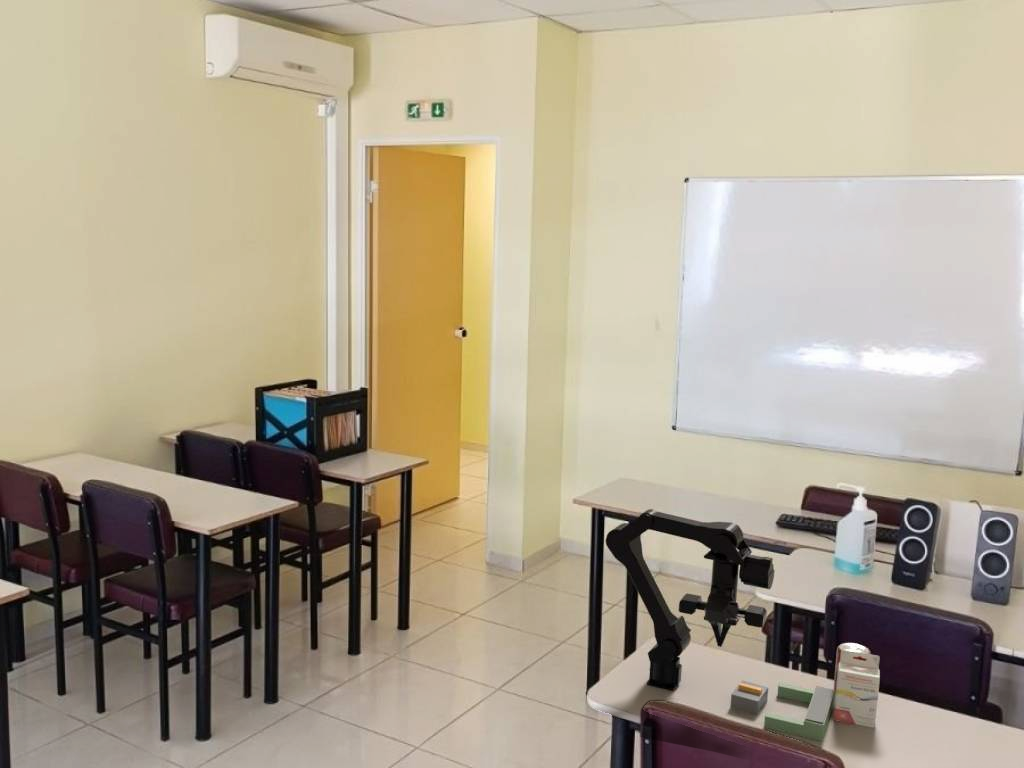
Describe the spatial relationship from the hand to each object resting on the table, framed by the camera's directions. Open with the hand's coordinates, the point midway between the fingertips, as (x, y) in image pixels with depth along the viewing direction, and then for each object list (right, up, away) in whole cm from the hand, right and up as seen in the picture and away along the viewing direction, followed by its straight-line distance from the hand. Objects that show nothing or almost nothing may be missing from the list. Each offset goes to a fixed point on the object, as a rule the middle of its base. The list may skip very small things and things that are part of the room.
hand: (719, 646), depth 218 cm
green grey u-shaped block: (+17, -14, -7) cm, 23 cm away
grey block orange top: (+6, -13, -2) cm, 14 cm away
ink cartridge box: (+28, -14, -7) cm, 32 cm away
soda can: (+30, -13, +3) cm, 33 cm away
